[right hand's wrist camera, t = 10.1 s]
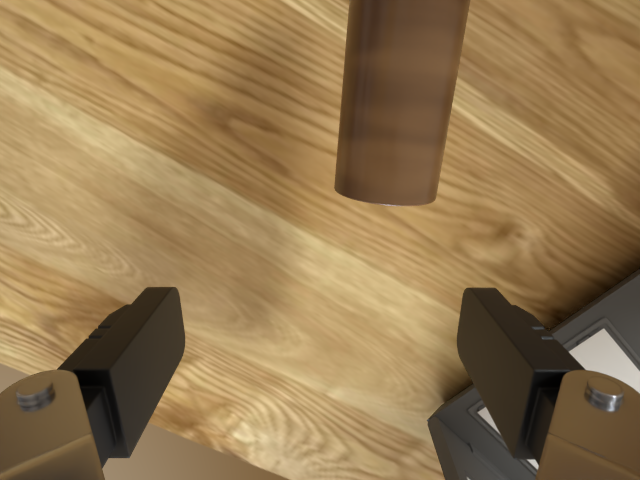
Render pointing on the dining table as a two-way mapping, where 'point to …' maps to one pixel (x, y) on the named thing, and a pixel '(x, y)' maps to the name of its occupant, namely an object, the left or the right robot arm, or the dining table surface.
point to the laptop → (583, 344)
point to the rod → (397, 98)
